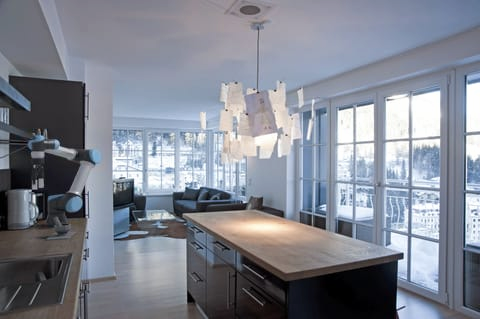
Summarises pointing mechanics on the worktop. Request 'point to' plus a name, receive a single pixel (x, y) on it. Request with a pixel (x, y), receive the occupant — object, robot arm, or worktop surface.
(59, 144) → the robot arm
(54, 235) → the rubber mat
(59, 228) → the mortar and pestle
